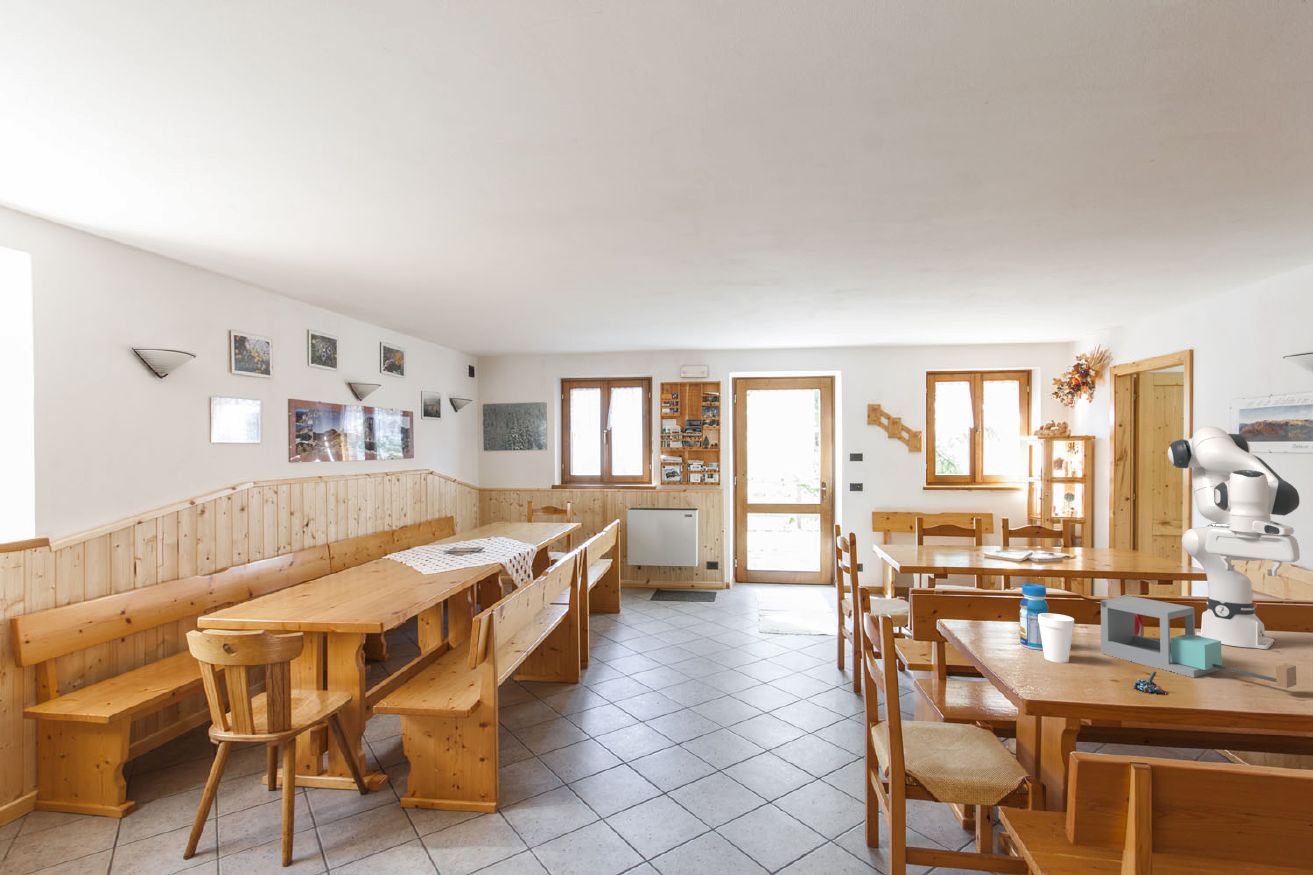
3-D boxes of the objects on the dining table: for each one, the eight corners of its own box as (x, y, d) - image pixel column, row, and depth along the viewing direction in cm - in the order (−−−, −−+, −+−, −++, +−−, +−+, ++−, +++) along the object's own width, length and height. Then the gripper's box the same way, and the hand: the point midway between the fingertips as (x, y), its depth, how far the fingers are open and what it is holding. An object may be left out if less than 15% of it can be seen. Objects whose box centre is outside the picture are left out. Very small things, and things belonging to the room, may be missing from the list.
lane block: (1188, 657, 188) (1187, 633, 188) (1299, 683, 166) (1298, 657, 167) (1171, 661, 184) (1171, 637, 184) (1283, 689, 162) (1283, 662, 162)
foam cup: (1071, 657, 194) (1071, 615, 194) (1077, 666, 185) (1077, 622, 186) (1036, 652, 198) (1036, 611, 198) (1040, 661, 189) (1040, 618, 190)
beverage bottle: (1039, 651, 199) (1039, 589, 200) (1014, 644, 206) (1013, 584, 207) (1055, 648, 203) (1054, 586, 203) (1029, 641, 210) (1029, 582, 211)
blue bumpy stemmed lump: (1138, 674, 172) (1154, 666, 166) (1162, 697, 168) (1180, 690, 162) (1120, 691, 170) (1136, 683, 164) (1145, 714, 166) (1162, 707, 160)
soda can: (1148, 644, 209) (1147, 608, 209) (1124, 642, 210) (1124, 607, 211) (1136, 638, 216) (1136, 603, 216) (1113, 636, 217) (1113, 602, 218)
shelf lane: (1128, 647, 205) (1127, 595, 206) (1220, 669, 184) (1219, 611, 184) (1101, 653, 198) (1100, 600, 198) (1193, 677, 176) (1192, 617, 177)
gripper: (1200, 522, 189) (1201, 568, 189) (1292, 529, 171) (1293, 580, 171) (1210, 522, 192) (1211, 566, 192) (1301, 528, 174) (1302, 578, 174)
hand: (1250, 573), depth 181 cm, fingers open, 8 cm apart
